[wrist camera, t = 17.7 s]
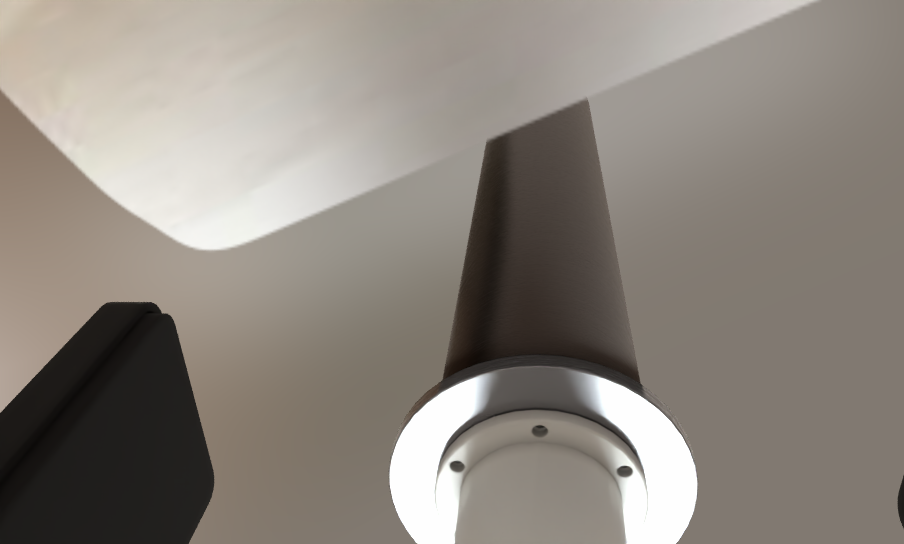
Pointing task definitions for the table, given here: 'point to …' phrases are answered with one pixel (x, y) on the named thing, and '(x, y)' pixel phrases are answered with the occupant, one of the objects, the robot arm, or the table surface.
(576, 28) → the table surface
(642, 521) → the robot arm
